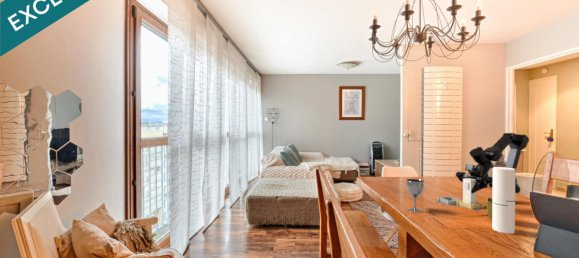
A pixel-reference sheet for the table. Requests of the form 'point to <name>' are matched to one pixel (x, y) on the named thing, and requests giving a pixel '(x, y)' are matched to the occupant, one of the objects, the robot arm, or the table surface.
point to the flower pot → (489, 207)
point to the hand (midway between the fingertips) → (467, 191)
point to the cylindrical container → (503, 200)
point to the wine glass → (415, 191)
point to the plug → (469, 191)
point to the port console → (460, 203)
